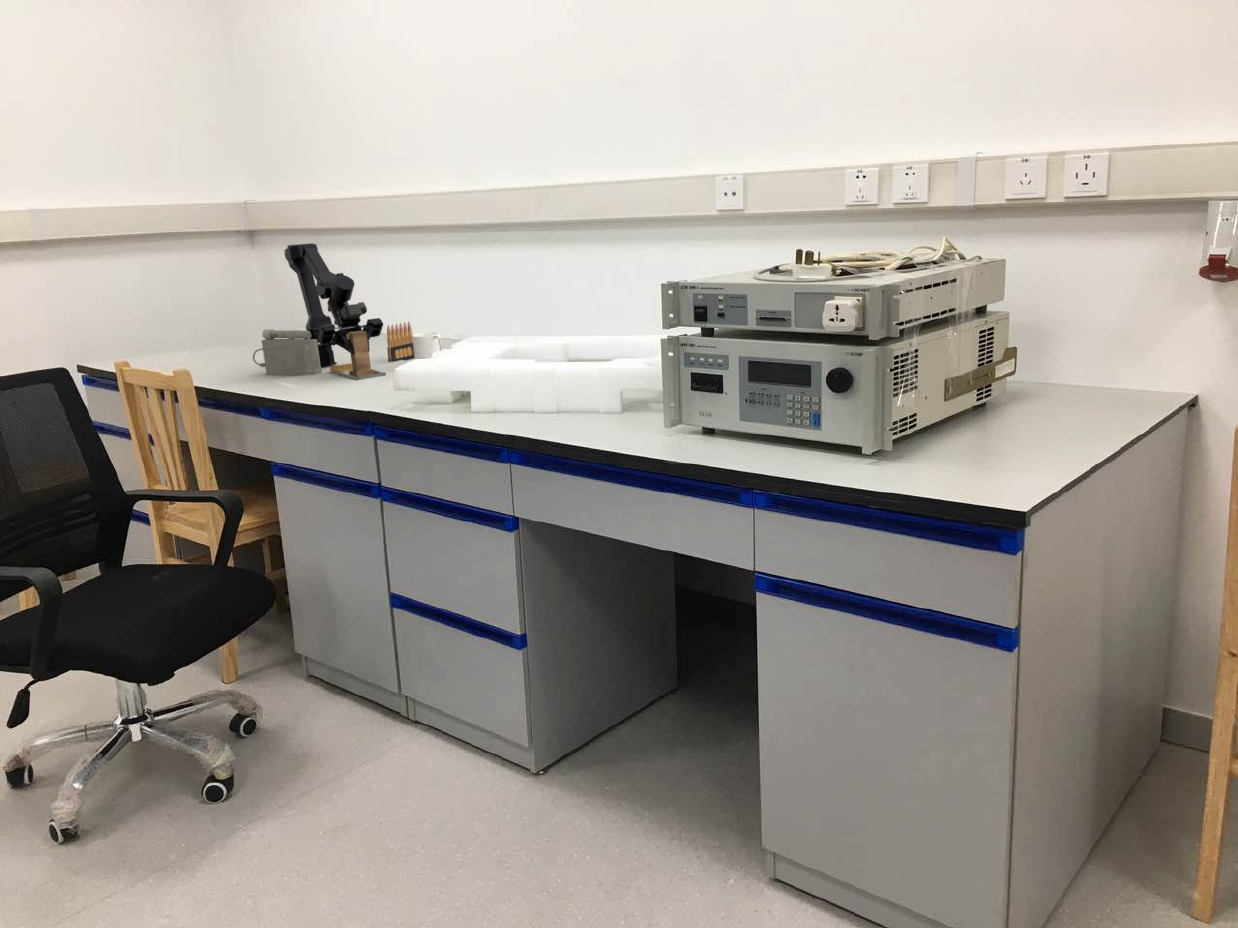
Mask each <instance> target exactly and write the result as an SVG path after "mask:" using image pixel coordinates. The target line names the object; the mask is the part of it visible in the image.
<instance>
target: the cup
mask: <svg viewBox="0 0 1238 928" xmlns="http://www.w3.org/2000/svg"><path fill="white" fill-rule="evenodd" d="M412 340H413V348H414V357H415V358H414V360H415V359H426V358H431V357H432V354H433V353H434V352H436V351H441V350H442V351H443V345H442V344H443V343H442V339H441V333H439V332H421V333H416V334H415V333H414V334H413V335H412Z"/></svg>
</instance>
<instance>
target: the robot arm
mask: <svg viewBox="0 0 1238 928" xmlns="http://www.w3.org/2000/svg"><path fill="white" fill-rule="evenodd" d="M284 257H285V260H286V261H287V263H288V265H289V268H290V269H291V270H292V271H293V272H294V273H296V275H297V279H298V284H299V286H300V290H301V294H302V297H303V301H304V305H305V308H306V309H305V310H306V313H307V316H308V317H307V322H306V324H305V331H310V333H311V335H312V336H311V338H310V339H317V343H318V350H319V358H320V365H321V368H326V367H330V366H334V365H336V364H338V362H337V361H335V354H334V353H335V352H334V350H333V348H332V346H336V345H337V346H338V347H340V348H343V350H345V351H347V352H348V353H350V355H351V354H353V355H354V354H355V352H354V349H353V347H352V345H351V343H350V341H349V338H348V332H356V331H365V332H366V334H367V342H368V350H369V352H370V339H371V338H377V337H379V336H381V333H382V330H383V326H384V323H383V321H382V319H381V318H379V317H377V318H369V319H367V320H366V324H360V323H361V318H360V317H361V316H363V315H365V314H366V313H367V312H368V309H367V308H368V307H367V306H366V303H365V302H364V301H363V302H358V303H355V304H350V303H349V301H350V300H351V299H352V296H353V295H352V294H353V292H354V287H355V281H354V279H353V278H351V277H349V276H347V275H345V274H344V272H339V273H334V272H331V270H330V269H329V267H328V265H326V263H325V261H324V259H323V257H322V256H321V254H320V252H319V249H318V245H317V244H316V243H314V242H310V243H299V244H289V245H287V247H286V248H285V249H284ZM315 280H316V282H315ZM321 300H327V301H326V302H327V311H328V313H329V312H330V313H331V315H332V317H333V319H334V320H333V321H334V322H332V319H331V316H329V315H326V314H325V313H324V311H323V307H322V304H321ZM333 323H334V324H333ZM303 339H308V338H303Z"/></svg>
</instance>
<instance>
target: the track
mask: <svg viewBox="0 0 1238 928" xmlns="http://www.w3.org/2000/svg"><path fill="white" fill-rule="evenodd" d="M352 370H353V368H352V362H348V363H343V364H341V363H340V364H337V365H336V364H334V365H330V366H329V371H330V373H331V374H335V375H338V376H342V377H344V378H348V379H351V380H355V381H360V380H367V379H372V378H380V377H385V376H386V375H387V374H386V372H382V371H379V370H375V369H374V370H375V374H373V375H367V376H361V377H357V376H353V375H350V374H349V373H345V372H347V371H348V372H349V371H352Z"/></svg>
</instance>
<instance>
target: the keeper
mask: <svg viewBox="0 0 1238 928" xmlns="http://www.w3.org/2000/svg"><path fill="white" fill-rule="evenodd" d="M347 337H348V339H349V341H350V343H351V345H352V347H353V349H354V352H355V354H354V355H353V354H351V353H350V360H351V361H350V362H351V363H352V368H353V370H349V371H348V372H349V373H348V374H350V375H353V376H357V377H361V376H367V375H373V374H375V369H372V366H371V360H370V358H371V357H370V351H369V350H368V342H367V334H366V332H365V331H356V332H348V335H347Z"/></svg>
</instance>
